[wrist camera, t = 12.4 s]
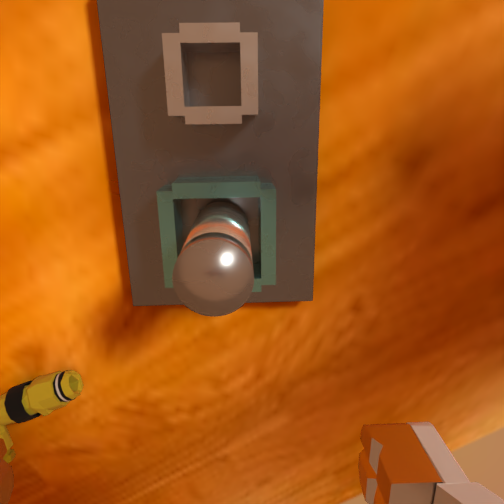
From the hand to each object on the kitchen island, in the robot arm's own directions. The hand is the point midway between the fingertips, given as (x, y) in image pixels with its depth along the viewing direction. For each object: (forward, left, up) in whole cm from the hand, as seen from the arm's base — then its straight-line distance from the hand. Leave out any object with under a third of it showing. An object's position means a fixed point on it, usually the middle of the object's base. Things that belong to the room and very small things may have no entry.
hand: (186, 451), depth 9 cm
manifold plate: (0, -5, -22) cm, 23 cm away
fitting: (0, 0, -21) cm, 21 cm away
